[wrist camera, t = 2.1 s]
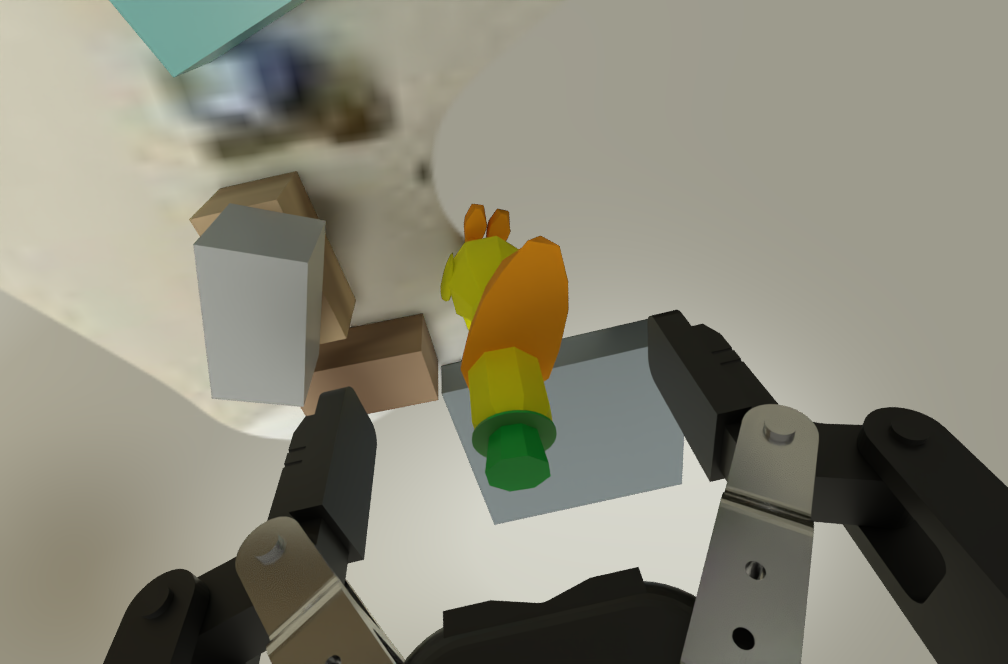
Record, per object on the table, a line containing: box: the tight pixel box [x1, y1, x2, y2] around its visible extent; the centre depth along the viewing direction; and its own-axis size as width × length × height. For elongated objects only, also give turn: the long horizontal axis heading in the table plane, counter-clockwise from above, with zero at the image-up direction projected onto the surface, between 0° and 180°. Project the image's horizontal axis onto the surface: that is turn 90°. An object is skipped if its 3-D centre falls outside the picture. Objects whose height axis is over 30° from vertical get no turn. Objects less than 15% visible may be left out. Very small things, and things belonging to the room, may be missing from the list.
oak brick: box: [189, 171, 356, 344], centre depth 19 cm, size 6×3×3 cm, turn 11°
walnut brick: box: [301, 314, 438, 416], centre depth 22 cm, size 6×3×3 cm, turn 99°
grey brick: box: [193, 203, 326, 407], centre depth 17 cm, size 6×3×3 cm, turn 165°
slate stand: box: [441, 319, 684, 525], centre depth 27 cm, size 12×12×2 cm
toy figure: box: [441, 204, 568, 492], centre depth 15 cm, size 7×4×12 cm, turn 167°
